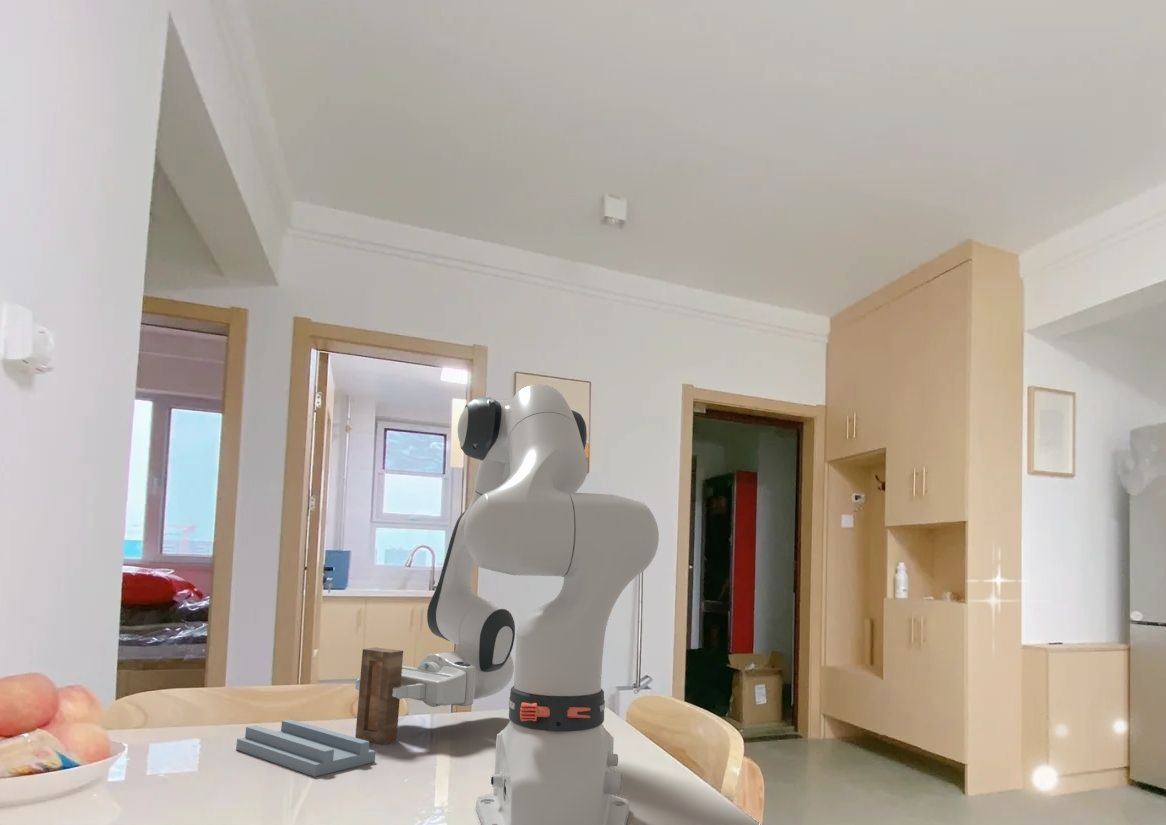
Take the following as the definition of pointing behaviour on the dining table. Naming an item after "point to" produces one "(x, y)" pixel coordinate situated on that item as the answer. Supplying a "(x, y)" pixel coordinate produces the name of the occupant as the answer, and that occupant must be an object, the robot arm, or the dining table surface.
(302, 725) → the picture stand
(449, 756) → the dining table surface
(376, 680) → the frame
